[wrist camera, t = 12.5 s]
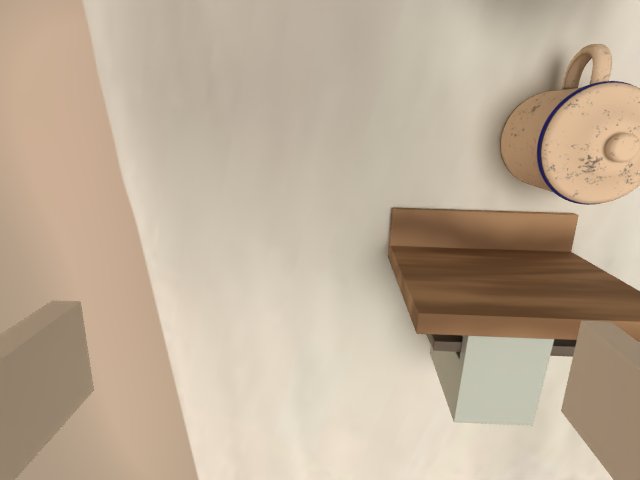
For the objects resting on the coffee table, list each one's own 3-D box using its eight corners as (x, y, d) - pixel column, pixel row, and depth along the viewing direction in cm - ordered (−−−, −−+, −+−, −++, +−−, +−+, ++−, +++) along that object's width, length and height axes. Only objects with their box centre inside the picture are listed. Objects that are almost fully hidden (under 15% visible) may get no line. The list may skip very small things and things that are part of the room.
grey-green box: (439, 280, 38) (468, 335, 30) (506, 282, 38) (554, 339, 30) (428, 361, 41) (452, 432, 33) (490, 364, 41) (529, 435, 33)
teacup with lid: (585, 188, 41) (678, 215, 30) (490, 186, 41) (548, 211, 30) (611, 54, 38) (727, 28, 26) (508, 53, 38) (580, 27, 27)
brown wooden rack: (391, 207, 42) (424, 260, 27) (573, 213, 42) (712, 269, 26) (386, 284, 44) (412, 372, 29) (558, 290, 44) (677, 383, 29)
